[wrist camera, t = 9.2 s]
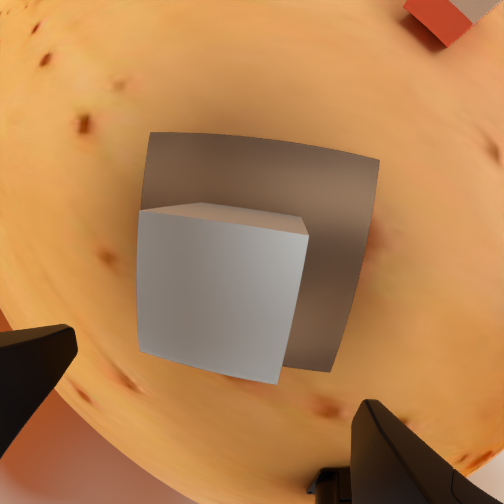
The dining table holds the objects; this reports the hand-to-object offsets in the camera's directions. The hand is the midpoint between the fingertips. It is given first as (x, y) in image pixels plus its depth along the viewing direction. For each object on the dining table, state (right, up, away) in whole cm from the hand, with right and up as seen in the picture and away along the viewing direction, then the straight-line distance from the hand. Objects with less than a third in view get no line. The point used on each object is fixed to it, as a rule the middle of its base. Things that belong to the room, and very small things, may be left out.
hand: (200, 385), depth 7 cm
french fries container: (+17, +23, +5) cm, 29 cm away
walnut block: (+2, +4, +11) cm, 12 cm away
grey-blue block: (+1, +3, +7) cm, 8 cm away
